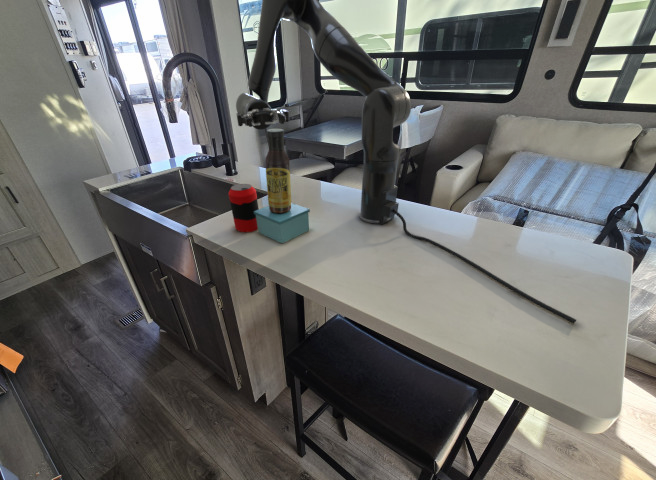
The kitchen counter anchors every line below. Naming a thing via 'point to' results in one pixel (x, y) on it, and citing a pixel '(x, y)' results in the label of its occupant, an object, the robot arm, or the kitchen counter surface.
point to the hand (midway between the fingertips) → (266, 120)
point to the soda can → (244, 207)
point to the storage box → (283, 223)
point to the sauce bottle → (278, 173)
